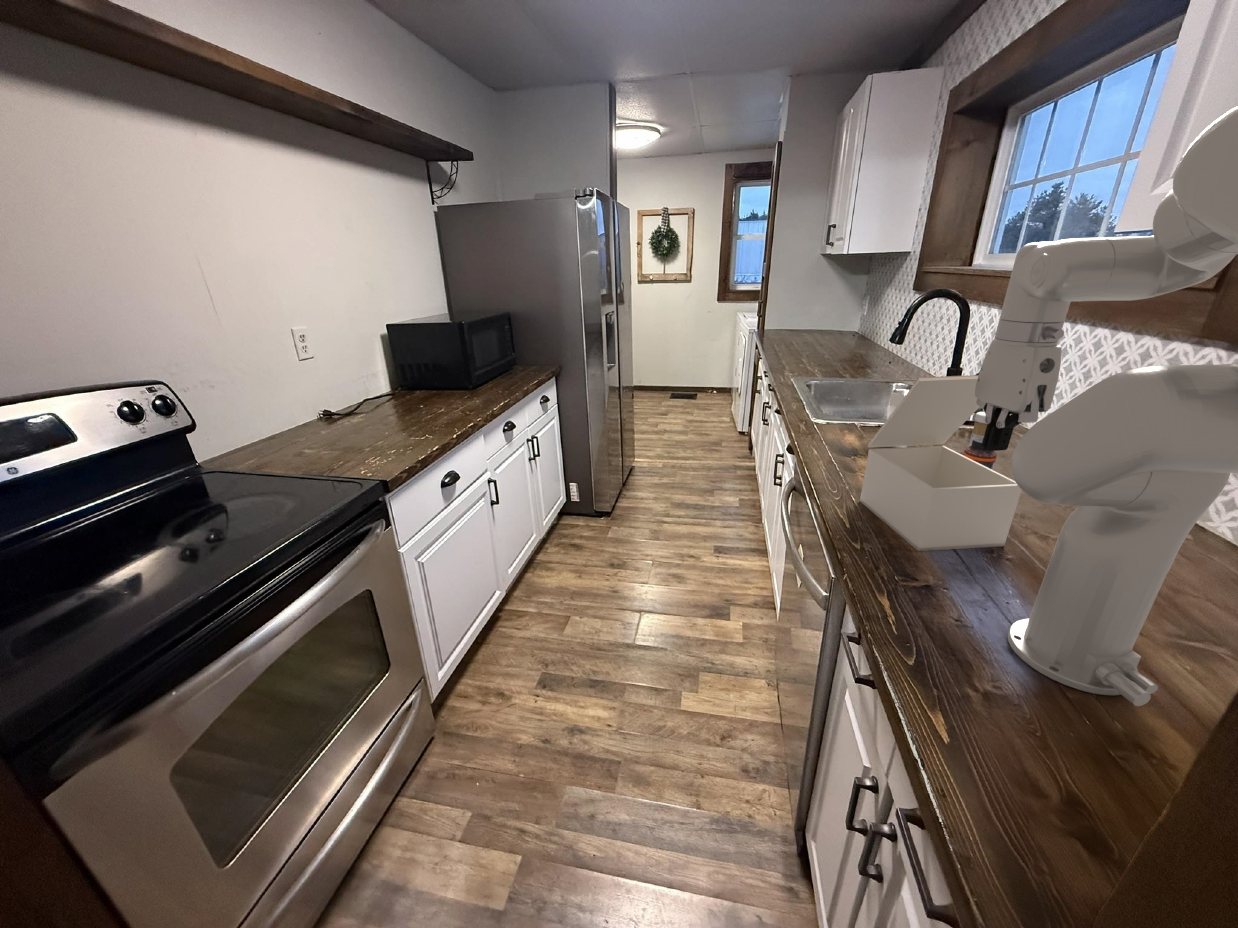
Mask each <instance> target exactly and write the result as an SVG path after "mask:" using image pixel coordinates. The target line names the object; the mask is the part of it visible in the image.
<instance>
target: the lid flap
mask: <svg viewBox="0 0 1238 928" xmlns="http://www.w3.org/2000/svg"><path fill="white" fill-rule="evenodd" d="M978 376H979V374H977V375H975V374H973V375H972V374H971V375H951V376H949V375H948V376H947V375H945V376H925V377H921V376H919V377H917V378H916V380H915V381H914V382H913V385H912V386H911V388H910V389H908V390H909V392H908V393H907V394H906V396H905V397H904V398H903V399H902V401H901V402H900V403H899V405H898V406H897V407H896V409H895V410H894V411H893V413H892V414H891V415H890V416H889V418H888V417H887V419H886V420H885V422H884V423H883V424H882V426H881V427H880V428H879V429H878V430H877V432H876V433H875V435H874V436H873V437H872V438H871V440H870V441H869V443H868V444H867V448H869V449H872V448H893V446H907V447H917V446H939V445H944V444H945V443H946V442H947V441H948V440H949V439H950V438H951V437H952V435H954V434H955V433H956V432H957V431H958V430H959V428H961V427H962V426H963V424H964V423H965V422H966V421H968V419H970V417H971V416H972V415H973V414H975V412H976V411H977V410H978V409H979V408H981V407H980V406H979V405H977V403H976V401H977V399H978V398H977V397H976V396H975V388H976V383H977V379H978Z"/></svg>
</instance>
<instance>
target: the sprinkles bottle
mask: <svg viewBox="0 0 1238 928" xmlns="http://www.w3.org/2000/svg"><path fill="white" fill-rule="evenodd" d="M985 416H986V414H985V411H978V412H976V414H975V417H974V425H973V429H972V432H971V436H970V438H969V439H970V440H969V442H968V446H967V447H970V446H971V445H972V441H973V439H974V438H984V434H985V431H986V427H987V423H986V422H985Z"/></svg>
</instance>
